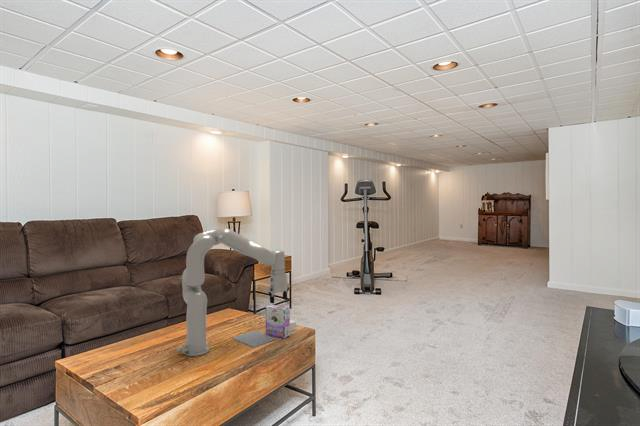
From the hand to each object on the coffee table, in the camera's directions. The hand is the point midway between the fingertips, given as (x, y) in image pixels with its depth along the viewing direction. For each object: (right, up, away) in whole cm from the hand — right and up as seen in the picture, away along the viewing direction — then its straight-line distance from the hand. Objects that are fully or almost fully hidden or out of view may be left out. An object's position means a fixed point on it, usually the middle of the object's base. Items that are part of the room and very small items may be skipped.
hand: (278, 301), depth 207 cm
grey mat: (-13, -20, -6) cm, 24 cm away
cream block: (+6, -20, +9) cm, 22 cm away
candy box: (0, -20, 0) cm, 20 cm away
